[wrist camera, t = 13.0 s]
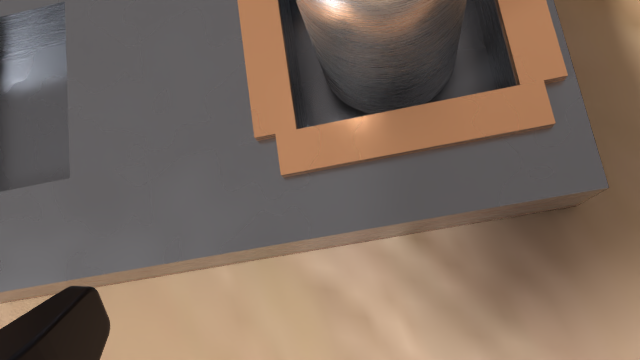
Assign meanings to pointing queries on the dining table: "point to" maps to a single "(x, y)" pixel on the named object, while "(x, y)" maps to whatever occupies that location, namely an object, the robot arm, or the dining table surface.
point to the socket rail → (260, 138)
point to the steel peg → (384, 48)
